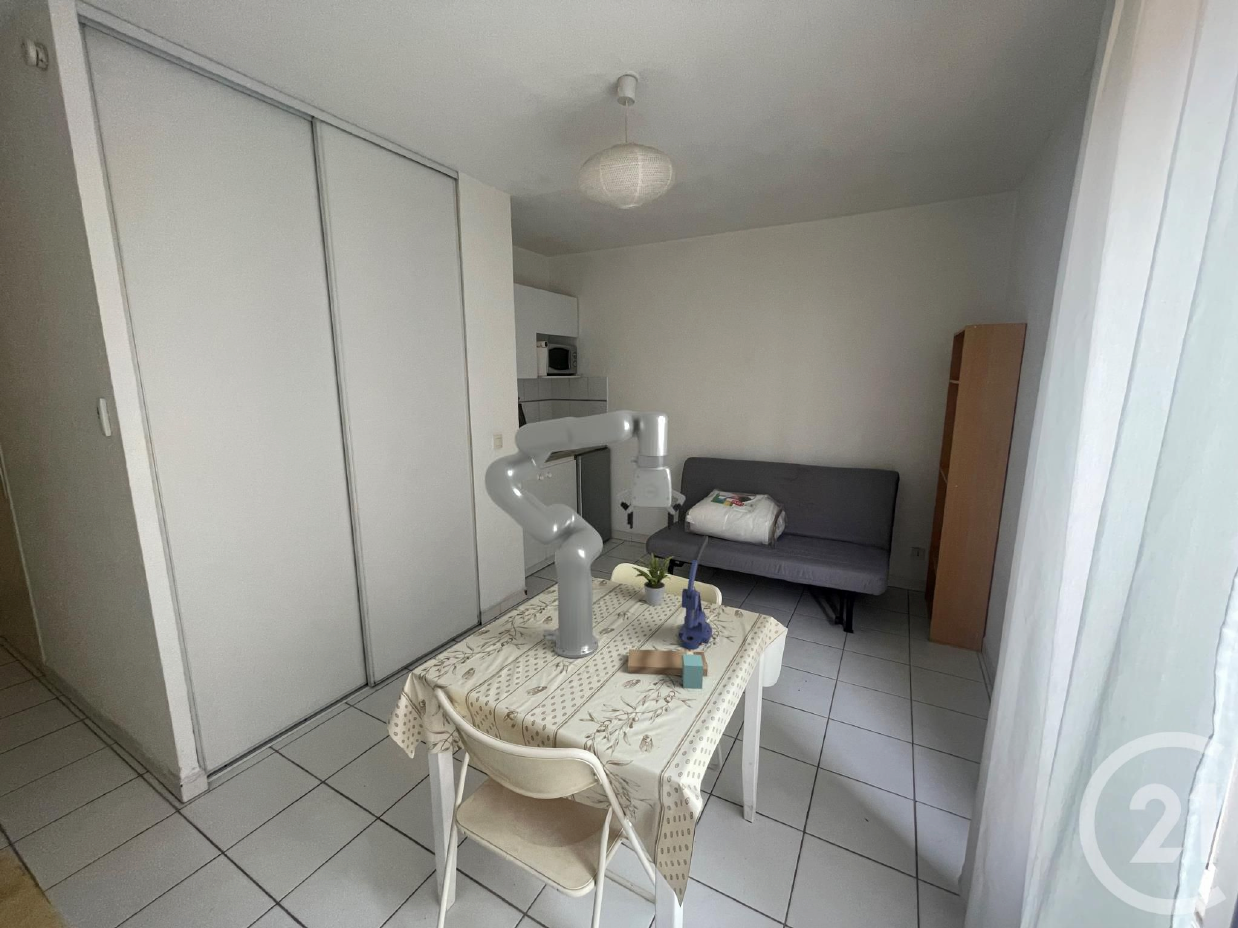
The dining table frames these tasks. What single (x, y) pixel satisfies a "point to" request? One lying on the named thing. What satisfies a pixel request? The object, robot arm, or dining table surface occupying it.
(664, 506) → the robot arm
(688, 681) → the gauge
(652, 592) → the house plant
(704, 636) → the hand press
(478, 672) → the dining table surface
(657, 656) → the board
